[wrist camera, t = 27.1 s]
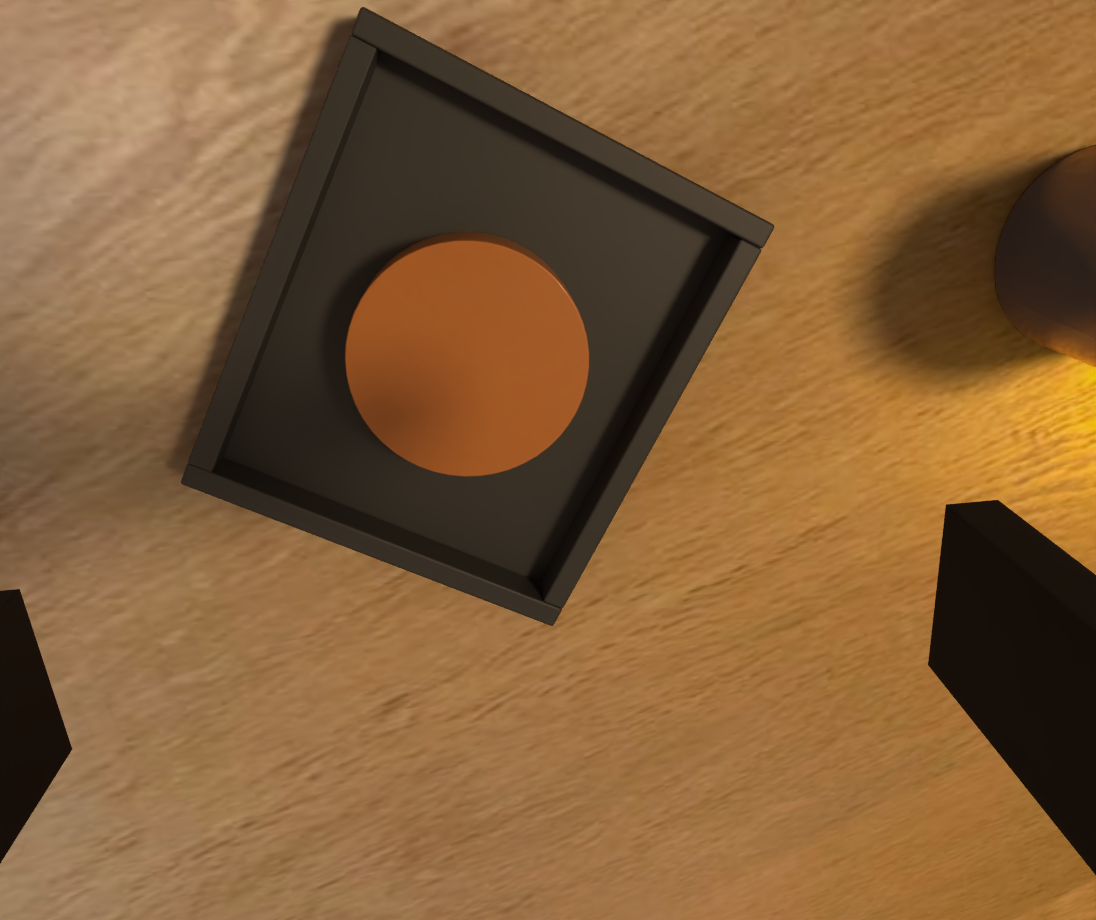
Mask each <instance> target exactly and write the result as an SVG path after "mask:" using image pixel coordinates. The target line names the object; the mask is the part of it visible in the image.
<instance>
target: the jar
mask: <svg viewBox="0 0 1096 920" xmlns="http://www.w3.org/2000/svg"><path fill="white" fill-rule="evenodd" d="M995 284H996V289H997V294H998V298H999V300H1000V303H1001V306H1002V308H1003V310H1004V312H1005V314H1006V316H1007V317H1008V319H1009V320H1010V322H1011V323H1012V324H1013V325H1014V327H1015V328H1016V329H1017V330H1018V331H1020V332H1021V333H1022V334H1023V335H1024V336H1026V337H1027V338H1029V339H1030V340H1032V341H1033V342H1036V343H1038V344H1040V345H1043V346H1045V347H1047V348H1050V349H1052V350H1055V351H1057V352H1060V353H1062V354H1064V355H1067V356H1069V357H1072V358H1074V359H1077V360H1079V361H1081V362H1084V363H1086V364H1089V365H1091V366H1094V367H1096V146H1092V147H1089V148H1085V149H1083V150H1080V151H1078V152H1076V153H1073V154H1071V155H1069V156H1067V157H1066V158H1064V159H1062V160H1060V161H1059V162H1057V163H1056V164H1054V165H1053V166H1051V167H1050V168H1049V169H1047V170H1046V171H1045V172H1044V173H1042V174H1041V175H1040V176H1039V177H1038V178H1037V179H1036V180H1035V181H1034V182H1033V183H1032V184H1031V185H1030V186H1029V187H1028V189H1027V190H1026V191H1025V192H1024V193H1023V195H1022V196H1021V197H1020V199H1019V200H1018V202H1017V203H1016V204H1015V206H1014V208H1013V209H1012V211H1011V213H1010V215H1009V217H1008V218H1007V221H1006V223H1005V225H1004V228H1003V230H1002V233H1001V236H1000V239H999V243H998V246H997V252H996V258H995Z"/></svg>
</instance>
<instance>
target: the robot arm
mask: <svg viewBox="0 0 1096 920" xmlns="http://www.w3.org/2000/svg"><path fill="white" fill-rule="evenodd" d="M928 665H929V667H930V668H931V669H932V670H933V672H934V673H935V674H936V675H937V677H938V678H939V679H940V680H941V682H942V683H943V684H944V685H945V687H946V688H947V689H948V690H949V692H950V693H951V694H952V695H953V697H954V698H955V699H956V700H957V702H958V703H959V704H960V705H961V707H962V708H963V709H964V710H965V712H966V713H967V714H968V715H969V717H970V718H971V719H972V720H973V722H974V723H975V724H976V726H977V727H978V728H979V729H980V731H981V732H982V733H983V734H984V736H985V737H986V738H987V739H988V741H989V742H990V743H991V744H992V746H993V747H994V748H995V749H996V751H997V752H998V753H999V754H1000V756H1001V757H1002V758H1003V759H1004V761H1005V762H1006V763H1007V764H1008V766H1009V767H1010V768H1011V769H1012V771H1013V772H1014V773H1015V774H1016V776H1017V777H1018V778H1019V779H1020V781H1021V782H1022V783H1023V784H1024V786H1025V787H1026V788H1027V789H1028V791H1029V792H1030V793H1031V794H1032V796H1033V797H1034V798H1035V799H1036V801H1037V802H1038V803H1039V805H1040V806H1041V807H1042V808H1043V810H1044V811H1045V812H1046V813H1047V815H1048V816H1049V817H1050V818H1051V820H1052V821H1053V822H1054V823H1055V825H1056V826H1057V827H1058V828H1059V830H1060V831H1061V832H1062V833H1063V835H1064V836H1065V837H1066V838H1067V840H1068V841H1069V842H1070V843H1071V845H1072V846H1073V847H1074V848H1075V850H1076V851H1077V852H1078V853H1079V855H1080V856H1081V857H1082V858H1083V860H1084V861H1085V862H1086V863H1087V865H1088V866H1089V867H1090V868H1091V870H1092V871H1093V872H1094V873H1095V875H1096V575H1095V574H1094V573H1092V572H1091V571H1090V570H1088V569H1087V568H1086V567H1084V566H1083V565H1082V564H1081V563H1079V562H1078V561H1077V560H1075V559H1074V558H1073V557H1071V556H1070V555H1069V554H1067V553H1066V552H1065V551H1064V550H1062V549H1061V548H1060V547H1058V546H1057V545H1056V544H1054V543H1053V542H1052V541H1051V540H1049V539H1048V538H1047V537H1045V536H1044V535H1043V534H1041V533H1040V532H1039V531H1038V530H1036V529H1035V528H1034V527H1032V526H1031V525H1030V524H1028V523H1027V522H1026V521H1024V520H1023V519H1022V518H1021V517H1019V516H1018V515H1017V514H1015V513H1014V512H1013V511H1011V510H1010V509H1009V508H1008V507H1006V506H1005V505H1004V504H1002V503H1001V502H1000V501H998V500H992V501H981V502H970V503H959V504H948V505H946V510H945V519H944V528H943V537H942V546H941V555H940V564H939V573H938V582H937V591H936V599H935V608H934V617H933V626H932V635H931V644H930V653H929V662H928ZM71 750H72V747H71V744H70V741H69V738H68V735H67V732H66V729H65V726H64V723H63V720H62V717H61V714H60V711H59V708H58V705H57V702H56V699H55V696H54V693H53V690H52V686H51V683H50V680H49V677H48V674H47V671H46V668H45V665H44V662H43V659H42V656H41V653H40V650H39V647H38V644H37V641H36V638H35V635H34V632H33V629H32V626H31V623H30V620H29V617H28V613H27V610H26V607H25V604H24V601H23V598H22V595H21V592H20V589H16V590H5V591H0V863H1V861H2V860H3V858H4V857H5V855H6V853H7V852H8V850H9V849H10V847H11V846H12V844H13V842H14V841H15V839H16V838H17V836H18V834H19V833H20V831H21V830H22V828H23V826H24V825H25V823H26V822H27V820H28V819H29V817H30V815H31V814H32V812H33V811H34V809H35V807H36V806H37V804H38V803H39V801H40V800H41V798H42V796H43V795H44V793H45V792H46V790H47V788H48V787H49V785H50V784H51V782H52V781H53V779H54V777H55V776H56V774H57V773H58V771H59V769H60V768H61V766H62V765H63V763H64V761H65V760H66V758H67V757H68V755H69V754H70V752H71Z"/></svg>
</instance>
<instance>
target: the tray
mask: <svg viewBox="0 0 1096 920" xmlns="http://www.w3.org/2000/svg"><path fill="white" fill-rule="evenodd" d="M352 35H353V36H352ZM352 35H350V36H349V39H348V42H347V44H346V47H345V50H344V52H343V55H342V58H341V60H340V63H339V65H338V68H337V71H336V73H335V76H334V79H333V81H332V84H331V87H330V89H329V92H328V94H327V97H326V100H325V102H324V105H323V108H322V110H321V113H320V116H319V118H318V121H317V123H316V126H315V129H314V131H313V134H312V137H311V139H310V142H309V145H308V147H307V150H306V152H305V155H304V158H303V160H302V163H301V166H300V168H299V171H298V174H297V176H296V179H295V181H294V184H293V187H292V189H291V192H290V195H289V197H288V200H287V203H286V205H285V208H284V210H283V213H282V216H281V218H280V221H279V224H278V226H277V229H276V232H275V234H274V237H273V239H272V242H271V245H270V247H269V250H268V253H267V255H266V258H265V261H264V263H263V266H262V268H261V271H260V274H259V276H258V279H257V282H256V284H255V287H254V290H253V292H252V295H251V297H250V300H249V303H248V305H247V308H246V311H245V313H244V316H243V319H242V321H241V324H240V326H239V329H238V332H237V334H236V337H235V340H234V342H233V345H232V348H231V350H230V353H229V355H228V358H227V361H226V363H225V366H224V369H223V371H222V374H221V377H220V379H219V382H218V384H217V387H216V390H215V392H214V395H213V398H212V400H211V403H210V406H209V408H208V411H207V413H206V416H205V419H204V421H203V424H202V427H201V429H200V432H199V435H198V437H197V440H196V442H195V445H194V448H193V450H192V453H191V456H190V458H189V461H188V464H187V467H186V469H185V472H184V475H183V477H182V480H181V483H182V484H183V485H186V486H188V487H191V488H193V489H196V490H199V491H201V492H204V493H206V494H209V495H212V496H214V497H217V498H219V499H222V500H225V501H227V502H230V503H232V504H235V505H238V506H240V507H243V508H246V509H248V510H251V511H253V512H256V513H259V514H261V515H264V516H266V517H269V518H272V519H274V520H277V521H279V522H282V523H285V524H287V525H290V526H292V527H295V528H298V529H300V530H303V531H305V532H308V533H311V534H313V535H316V536H319V537H321V538H324V539H326V540H329V541H332V542H334V543H337V544H339V545H342V546H345V547H347V548H350V549H352V550H355V551H358V552H360V553H363V554H365V555H368V556H371V557H373V558H376V559H378V560H381V561H384V562H386V563H389V564H391V565H394V566H397V567H399V568H402V569H405V570H407V571H410V572H412V573H415V574H418V575H420V576H423V577H425V578H428V579H431V580H433V581H436V582H438V583H441V584H444V585H446V586H449V587H451V588H454V589H457V590H459V591H462V592H464V593H467V594H470V595H472V596H475V597H478V598H480V599H483V600H485V601H488V602H491V603H493V604H496V605H498V606H501V607H504V608H506V609H509V610H511V611H514V612H517V613H519V614H522V615H524V616H527V617H530V618H532V619H535V620H537V621H540V622H543V623H545V624H548V625H550V626H553V625H554V623H555V622H556V620H557V618H558V616H559V614H560V613H561V611H562V608H563V607H564V605H565V604H566V602H567V600H568V598H569V596H570V595H571V593H572V591H573V589H574V587H575V586H576V584H577V582H578V580H579V578H580V577H581V575H582V573H583V571H584V569H585V568H586V566H587V564H588V562H589V560H590V559H591V557H592V555H593V553H594V551H595V550H596V548H597V546H598V544H599V542H600V541H601V539H602V537H603V535H604V533H605V532H606V530H607V528H608V526H609V524H610V523H611V521H612V519H613V517H614V515H615V514H616V512H617V510H618V508H619V506H620V505H621V503H622V501H623V499H624V497H625V496H626V494H627V492H628V490H629V488H630V487H631V485H632V483H633V481H634V479H635V478H636V476H637V474H638V472H639V470H640V469H641V467H642V465H643V463H644V461H645V460H646V458H647V456H648V454H649V452H650V451H651V449H652V447H653V445H654V443H655V442H656V440H657V438H658V436H659V434H660V433H661V431H662V429H663V427H664V425H665V424H666V422H667V420H668V418H669V416H670V415H671V413H672V411H673V409H674V407H675V406H676V404H677V402H678V400H679V398H680V397H681V395H682V393H683V391H684V389H685V388H686V386H687V384H688V382H689V380H690V379H691V377H692V375H693V373H694V371H695V370H696V368H697V366H698V364H699V362H700V361H701V359H702V357H703V355H704V353H705V352H706V350H707V348H708V346H709V344H710V343H711V341H712V339H713V337H714V335H715V334H716V332H717V330H718V328H719V326H720V325H721V323H722V321H723V319H724V317H725V316H726V314H727V312H728V310H729V308H730V307H731V305H732V303H733V301H734V299H735V298H736V296H737V294H738V292H739V290H740V289H741V287H742V285H743V283H744V281H745V280H746V278H747V276H748V274H749V272H750V271H751V269H752V267H753V265H754V263H755V262H756V260H757V258H758V256H759V254H760V253H761V249H760V248H763V247H764V245H765V243H766V242H767V240H768V238H769V236H770V234H771V233H772V231H773V229H774V225H773V224H771V223H770V222H768V221H766V220H764V219H762V218H760V217H758V216H756V215H754V214H753V213H751V212H749V211H747V210H745V209H743V208H741V207H739V206H738V205H736V204H734V203H732V202H730V201H728V200H726V199H724V198H722V197H721V196H719V195H717V194H715V193H713V192H711V191H709V190H707V189H705V188H704V187H702V186H700V185H698V184H696V183H694V182H692V181H690V180H689V179H687V178H685V177H683V176H681V175H679V174H677V173H675V172H673V171H672V170H670V169H668V168H666V167H664V166H662V165H660V164H658V163H657V162H655V161H653V160H651V159H649V158H647V157H645V156H643V155H641V154H640V153H638V152H636V151H634V150H632V149H630V148H628V147H626V146H625V145H623V144H621V143H619V142H617V141H615V140H613V139H611V138H609V137H608V136H606V135H604V134H602V133H600V132H598V131H596V130H594V129H592V128H591V127H589V126H587V125H585V124H583V123H581V122H579V121H577V120H576V119H574V118H572V117H570V116H568V115H566V114H564V113H562V112H560V111H559V110H557V109H555V108H553V107H551V106H549V105H547V104H545V103H544V102H542V101H540V100H538V99H536V98H534V97H532V96H530V95H528V94H527V93H525V92H523V91H521V90H519V89H517V88H515V87H513V86H511V85H510V84H508V83H506V82H504V81H502V80H500V79H498V78H496V77H495V76H493V75H491V74H489V73H487V72H485V71H483V70H481V69H479V68H478V67H476V66H474V65H472V64H470V63H468V62H466V61H464V60H463V59H461V58H459V57H457V56H455V55H453V54H451V53H449V52H447V51H446V50H444V49H442V48H440V47H438V46H436V45H434V44H432V43H431V42H429V41H427V40H425V39H423V38H421V37H419V36H417V35H415V34H414V33H412V32H410V31H408V30H406V29H404V28H402V27H400V26H398V25H397V24H395V23H393V22H391V21H389V20H387V19H385V18H383V17H382V16H380V15H378V14H376V13H374V12H372V11H370V10H368V9H366V8H365V7H362V8H361V9H360V11H359V13H358V16H357V19H356V21H355V24H354V26H353V29H352ZM453 232H479V233H487V234H491V235H495V236H499V237H503V238H506V239H508V240H510V241H513V242H515V243H518V244H520V245H521V246H523V247H525V248H527V249H528V250H530V251H532V252H533V253H534V254H536V255H537V256H538V257H540V258H541V259H542V260H543V261H544V262H545V263H546V264H547V265H548V266H549V267H550V268H551V269H552V270H553V271H554V272H555V273H556V274H557V276H558V277H559V278H560V279H561V281H562V282H563V283H564V285H565V287H566V289H567V290H568V292H569V294H570V296H571V297H572V299H573V301H574V303H575V305H576V307H577V308H578V311H579V313H580V316H581V318H582V321H583V323H584V327H585V331H586V335H587V339H588V348H589V372H588V379H587V385H586V388H585V392H584V395H583V398H582V401H581V403H580V405H579V408H578V410H577V412H576V414H575V415H574V417H573V419H572V420H571V422H570V424H569V425H568V427H567V428H566V429H565V430H564V432H563V433H562V434H561V435H560V437H559V438H558V439H557V440H556V441H554V442H553V443H552V444H551V445H550V446H549V447H548V448H547V449H546V450H544V451H543V452H542V453H540V454H539V455H538V456H536V457H534V458H533V459H531V460H529V461H527V462H526V463H524V464H522V465H519V466H517V467H515V468H512V469H510V470H506V471H503V472H499V473H496V474H489V475H483V476H455V475H447V474H442V473H438V472H434V471H431V470H428V469H425V468H422V467H419V466H417V465H415V464H413V463H411V462H409V461H407V460H405V459H404V458H402V457H401V456H399V455H398V454H396V453H395V452H393V451H392V450H391V449H390V448H388V447H387V446H386V445H385V444H384V443H383V442H381V440H380V439H379V438H378V437H377V436H376V435H375V434H374V433H373V432H372V431H371V429H370V428H369V427H368V425H367V424H366V422H365V421H364V420H363V418H362V416H361V414H360V412H359V411H358V409H357V407H356V405H355V403H354V400H353V397H352V394H351V392H350V389H349V384H348V380H347V375H346V365H345V348H346V339H347V334H348V329H349V325H350V322H351V320H352V317H353V314H354V311H355V309H356V307H357V305H358V303H359V301H360V299H361V298H362V296H363V294H364V292H365V291H366V289H367V287H368V286H369V284H370V283H371V281H372V280H373V279H374V277H375V276H376V274H377V273H378V272H379V271H380V270H381V269H382V268H383V267H384V265H385V264H386V263H387V262H388V261H390V260H391V259H392V258H393V257H395V256H396V255H397V254H398V253H400V252H401V251H403V250H404V249H406V248H408V247H409V246H411V245H413V244H415V243H417V242H420V241H422V240H424V239H426V238H430V237H433V236H437V235H440V234H446V233H453Z"/></svg>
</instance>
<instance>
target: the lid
mask: <svg viewBox="0 0 1096 920" xmlns="http://www.w3.org/2000/svg"><path fill="white" fill-rule="evenodd" d="M345 365H346V375H347V380H348V384H349V389H350V392H351V394H352V397H353V400H354V403H355V405H356V407H357V409H358V411H359V412H360V414H361V416H362V418H363V420H364V421H365V422H366V424H367V425H368V427H369V428H370V429H371V431H372V432H373V433H374V434H375V435H376V436H377V437H378V438H379V439H380V440H381V442H383V443H384V444H385V445H386V446H387V447H388V448H390V449H391V450H392V451H393V452H395V453H396V454H398V455H399V456H401V457H402V458H404V459H405V460H407V461H409V462H411V463H413V464H415V465H417V466H419V467H422V468H425V469H428V470H431V471H434V472H438V473H442V474H447V475H455V476H483V475H489V474H496V473H499V472H503V471H506V470H510V469H512V468H515V467H517V466H519V465H522V464H524V463H526V462H527V461H529V460H531V459H533V458H534V457H536V456H538V455H539V454H540V453H542V452H543V451H544V450H546V449H547V448H548V447H549V446H550V445H551V444H552V443H553V442H554V441H556V440H557V439H558V438H559V437H560V435H561V434H562V433H563V432H564V430H565V429H566V428H567V427H568V425H569V424H570V422H571V420H572V419H573V417H574V415H575V414H576V412H577V410H578V408H579V405H580V403H581V401H582V398H583V395H584V392H585V388H586V385H587V379H588V372H589V348H588V339H587V335H586V331H585V327H584V323H583V321H582V318H581V316H580V313H579V311H578V308H577V307H576V305H575V303H574V301H573V299H572V297H571V296H570V294H569V292H568V290H567V289H566V287H565V285H564V283H563V282H562V281H561V279H560V278H559V277H558V276H557V274H556V273H555V272H554V271H553V270H552V269H551V268H550V267H549V266H548V265H547V264H546V263H545V262H544V261H543V260H542V259H541V258H540V257H538V256H537V255H536V254H534V253H533V252H532V251H530V250H528V249H527V248H525V247H523V246H521V245H520V244H518V243H515V242H513V241H510V240H508V239H506V238H503V237H499V236H495V235H491V234H487V233H479V232H453V233H446V234H440V235H437V236H433V237H430V238H426V239H424V240H422V241H420V242H417V243H415V244H413V245H411V246H409V247H408V248H406V249H404V250H403V251H401V252H400V253H398V254H397V255H396V256H395V257H393V258H392V259H391V260H390V261H388V262H387V263H386V264H385V265H384V267H383V268H382V269H381V270H380V271H379V272H378V273H377V274H376V276H375V277H374V279H373V280H372V281H371V283H370V284H369V286H368V287H367V289H366V291H365V292H364V294H363V296H362V298H361V299H360V301H359V303H358V305H357V307H356V309H355V311H354V314H353V317H352V320H351V322H350V325H349V329H348V334H347V339H346V348H345Z"/></svg>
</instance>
